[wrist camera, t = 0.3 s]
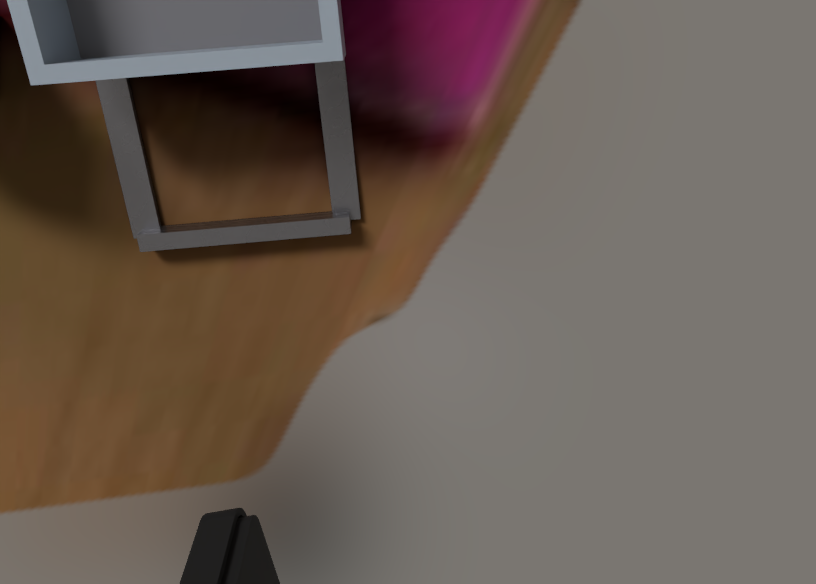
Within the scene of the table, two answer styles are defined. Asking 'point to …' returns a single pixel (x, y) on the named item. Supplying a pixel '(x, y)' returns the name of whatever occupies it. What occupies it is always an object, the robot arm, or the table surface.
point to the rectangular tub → (171, 36)
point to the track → (159, 237)
